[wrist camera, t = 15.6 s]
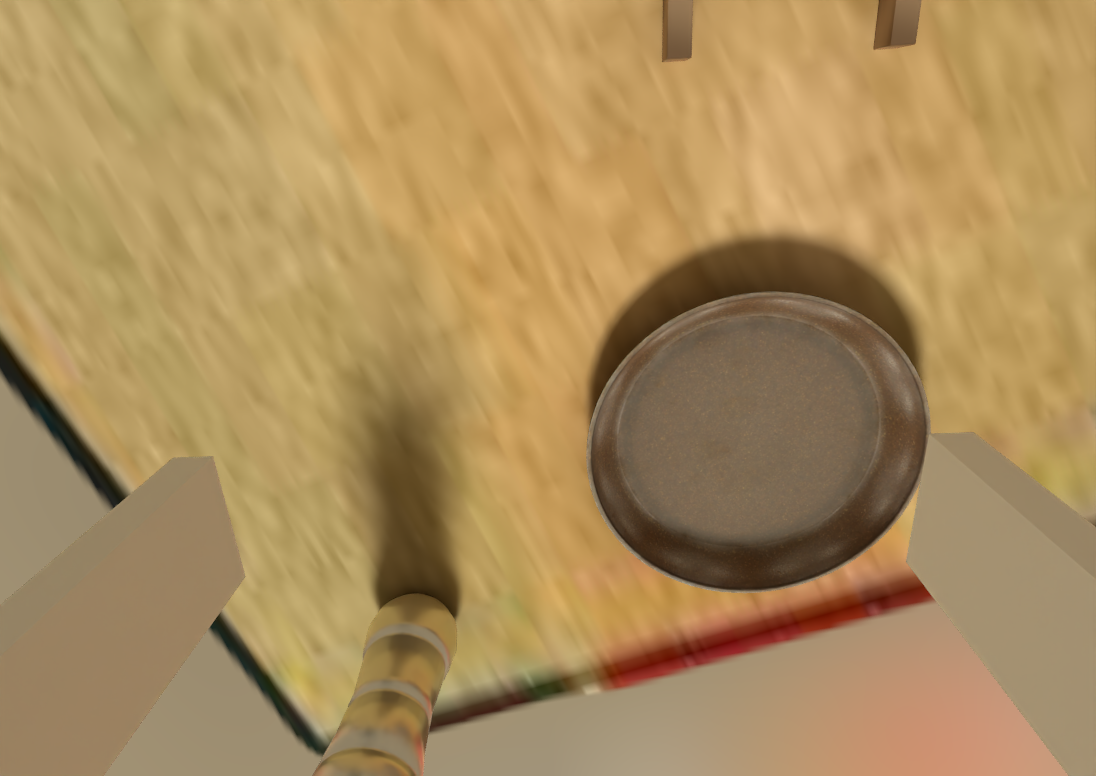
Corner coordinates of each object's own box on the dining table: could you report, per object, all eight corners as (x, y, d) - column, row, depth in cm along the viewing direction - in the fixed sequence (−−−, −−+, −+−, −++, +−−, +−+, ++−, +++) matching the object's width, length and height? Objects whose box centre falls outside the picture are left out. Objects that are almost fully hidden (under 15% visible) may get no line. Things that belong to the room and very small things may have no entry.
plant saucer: (549, 524, 47) (548, 552, 44) (643, 238, 39) (649, 248, 36) (823, 593, 48) (840, 626, 45) (965, 331, 41) (997, 349, 37)
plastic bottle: (475, 598, 49) (417, 889, 30) (444, 662, 51) (373, 968, 33) (392, 569, 48) (280, 849, 30) (365, 635, 51) (247, 933, 32)
